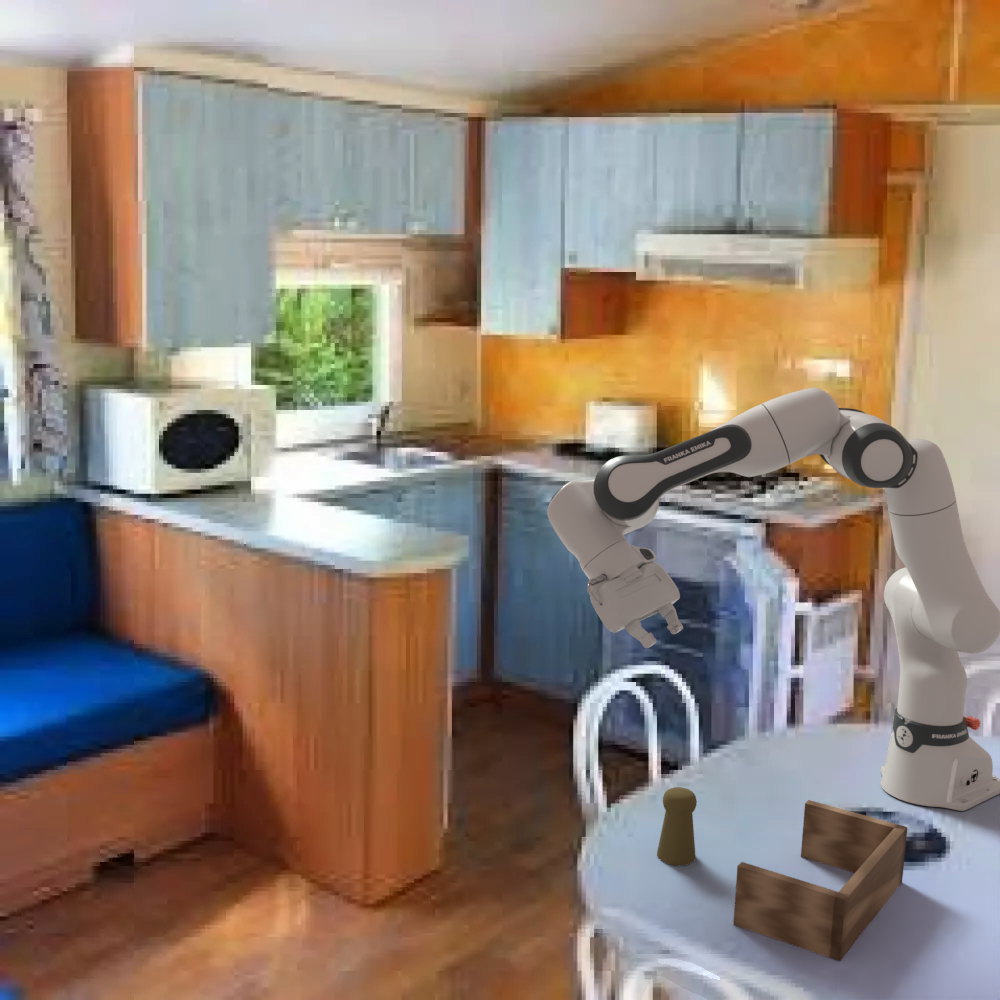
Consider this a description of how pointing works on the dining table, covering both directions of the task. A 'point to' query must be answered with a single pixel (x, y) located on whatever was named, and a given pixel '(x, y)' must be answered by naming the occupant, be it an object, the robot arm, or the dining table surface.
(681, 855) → the olive brown pawn
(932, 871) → the dining table surface
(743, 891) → the open-fronted crate
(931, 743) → the robot arm
